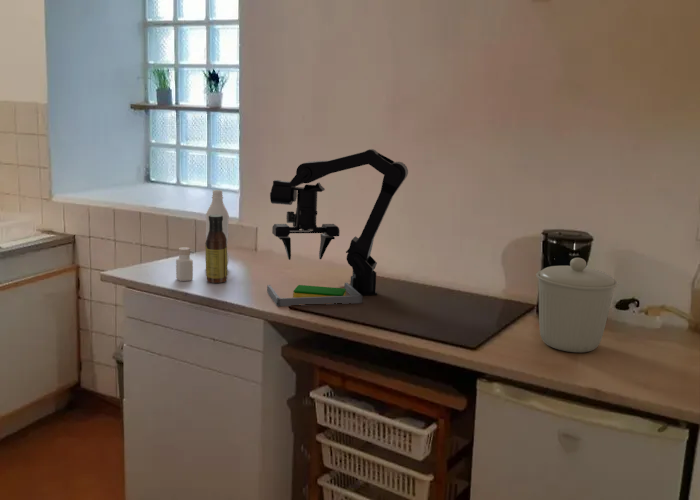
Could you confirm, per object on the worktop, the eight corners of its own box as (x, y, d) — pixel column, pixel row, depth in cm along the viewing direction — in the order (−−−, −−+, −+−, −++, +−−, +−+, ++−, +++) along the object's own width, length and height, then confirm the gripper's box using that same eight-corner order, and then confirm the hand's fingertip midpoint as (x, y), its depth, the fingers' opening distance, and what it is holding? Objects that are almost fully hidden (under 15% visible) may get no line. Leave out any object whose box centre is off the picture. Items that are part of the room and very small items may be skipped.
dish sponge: (342, 303, 197) (342, 294, 196) (292, 299, 199) (293, 290, 198) (345, 296, 204) (346, 288, 203) (298, 292, 206) (298, 284, 205)
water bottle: (209, 265, 232) (210, 188, 227) (231, 267, 231) (232, 189, 226) (202, 270, 225) (202, 191, 220) (224, 272, 224) (225, 192, 219)
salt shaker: (193, 280, 212) (193, 249, 210) (180, 282, 210) (180, 250, 208) (188, 277, 215) (188, 246, 213) (175, 279, 213) (175, 247, 211)
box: (346, 289, 210) (347, 282, 210) (362, 303, 196) (362, 296, 196) (267, 291, 203) (267, 285, 203) (277, 306, 189) (277, 299, 189)
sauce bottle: (217, 277, 217) (217, 212, 213) (231, 281, 213) (232, 215, 209) (200, 281, 211) (200, 214, 207) (215, 285, 208) (216, 217, 204)
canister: (563, 362, 157) (574, 268, 152) (514, 337, 173) (522, 251, 169) (627, 354, 164) (638, 264, 160) (573, 330, 180) (582, 248, 176)
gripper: (330, 202, 215) (328, 253, 219) (269, 201, 210) (268, 253, 213) (341, 207, 205) (338, 261, 208) (276, 207, 200) (275, 262, 203)
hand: (304, 259), depth 208 cm, fingers open, 9 cm apart
